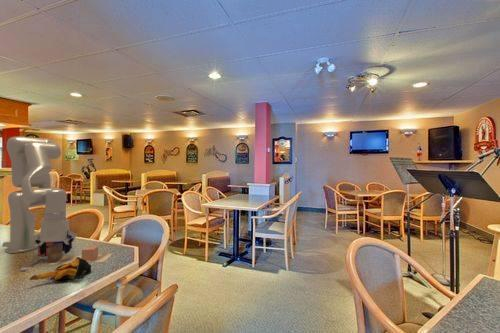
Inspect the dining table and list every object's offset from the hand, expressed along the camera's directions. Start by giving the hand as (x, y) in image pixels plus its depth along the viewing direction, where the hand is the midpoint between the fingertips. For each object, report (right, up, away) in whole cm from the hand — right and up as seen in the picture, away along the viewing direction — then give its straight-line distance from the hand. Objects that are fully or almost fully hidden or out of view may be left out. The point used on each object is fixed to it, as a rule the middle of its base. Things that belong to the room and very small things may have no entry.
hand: (55, 253), depth 114 cm
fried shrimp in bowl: (+16, -6, -16) cm, 23 cm away
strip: (+10, -5, +2) cm, 11 cm away
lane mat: (+7, -5, +1) cm, 9 cm away
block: (+14, -4, +3) cm, 15 cm away
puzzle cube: (-10, -5, +13) cm, 18 cm away
